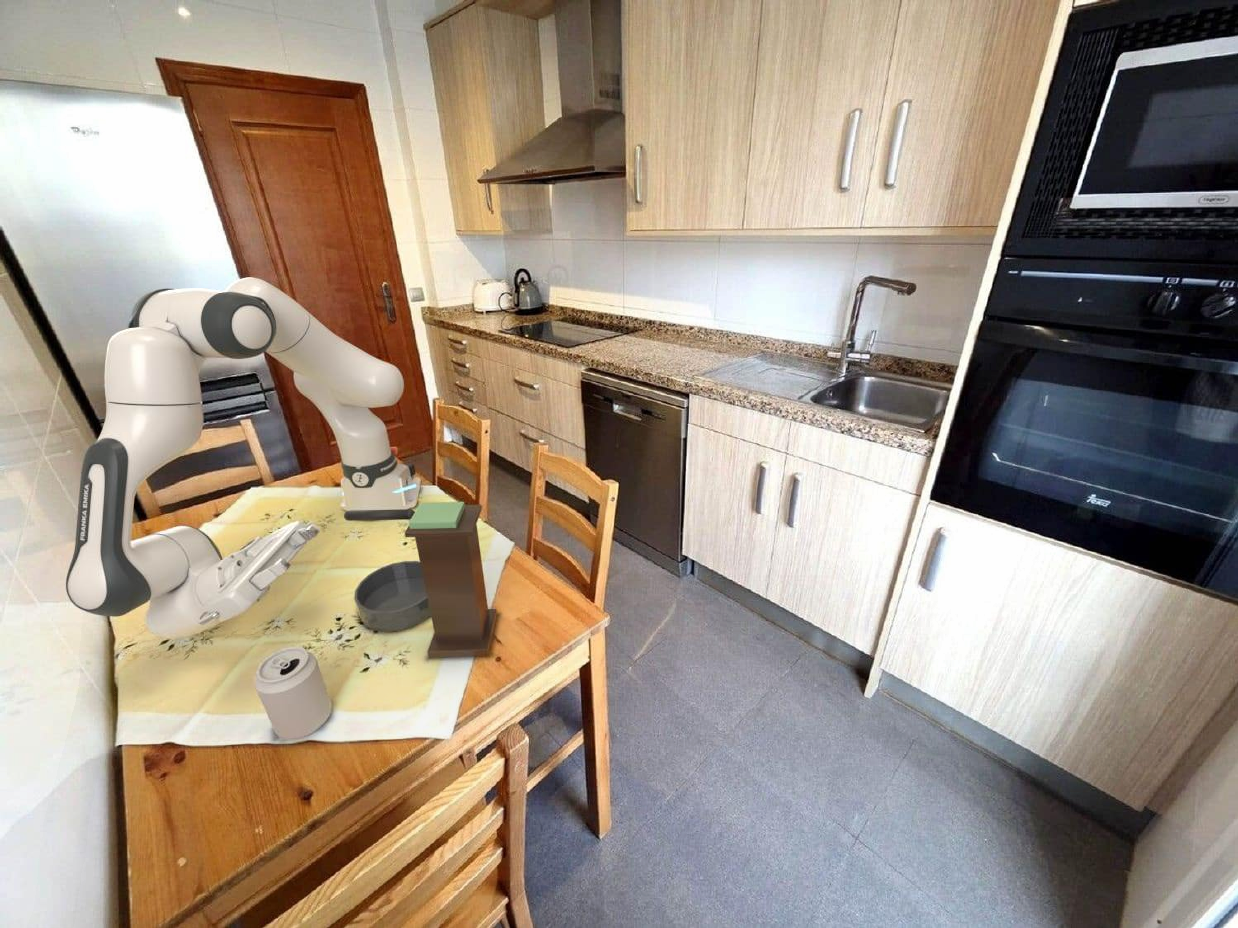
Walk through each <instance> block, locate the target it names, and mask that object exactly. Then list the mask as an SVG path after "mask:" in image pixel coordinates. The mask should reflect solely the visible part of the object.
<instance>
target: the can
mask: <svg viewBox="0 0 1238 928" xmlns="http://www.w3.org/2000/svg"><path fill="white" fill-rule="evenodd" d="M253 682H254V688H255V690H256V693H257V695H258V697H259V699H260V701H261V704H262V706H263V708H264V710H265V712H266V715H267V717H268V720H269V722H270V725H271V726H272V728H273V731H274V733H275V734H276V736H277V737H278V738H281V739H283V740H295V739H296V740H297V739H300V738H303V737H306V736H308V735H311V734H312V733H314V732H316V731H317V730H318V729H320V727H321V726H323V724H325V722H327V720H328V718H329V717H330V715H331V713H332V710H333V704H332V699H331V696H330V694H329V691H328V688H327V685H326V682H325V680H324V677H323V674H322V670H321V669H320V666H319V663H318V660H317V657H316V656H315V654H314V653H313V652H310V651H309V650H307V649H306V648H305V647H301V646H289V647H284V648H280V649H278V650H277V651H275V652H273V653H271V654H269V655H268V656H267V657H265V658H264V659H263V660H262V661H261V663H260V664H259V665H258V667H257V669H256V676H255V678H254V681H253Z"/></svg>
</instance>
